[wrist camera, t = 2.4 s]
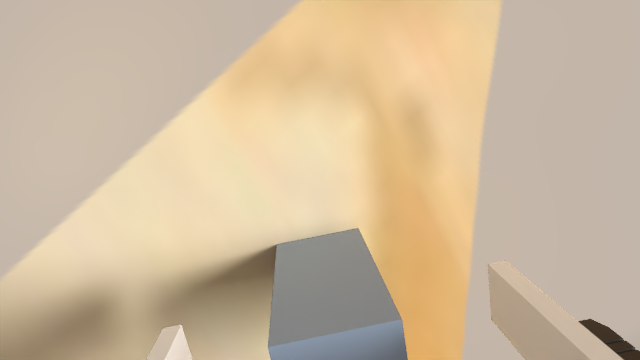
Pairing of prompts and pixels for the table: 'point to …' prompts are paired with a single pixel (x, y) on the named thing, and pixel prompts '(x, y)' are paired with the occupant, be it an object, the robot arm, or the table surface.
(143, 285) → the table surface
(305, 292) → the domino
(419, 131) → the table surface
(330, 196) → the table surface
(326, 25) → the table surface
